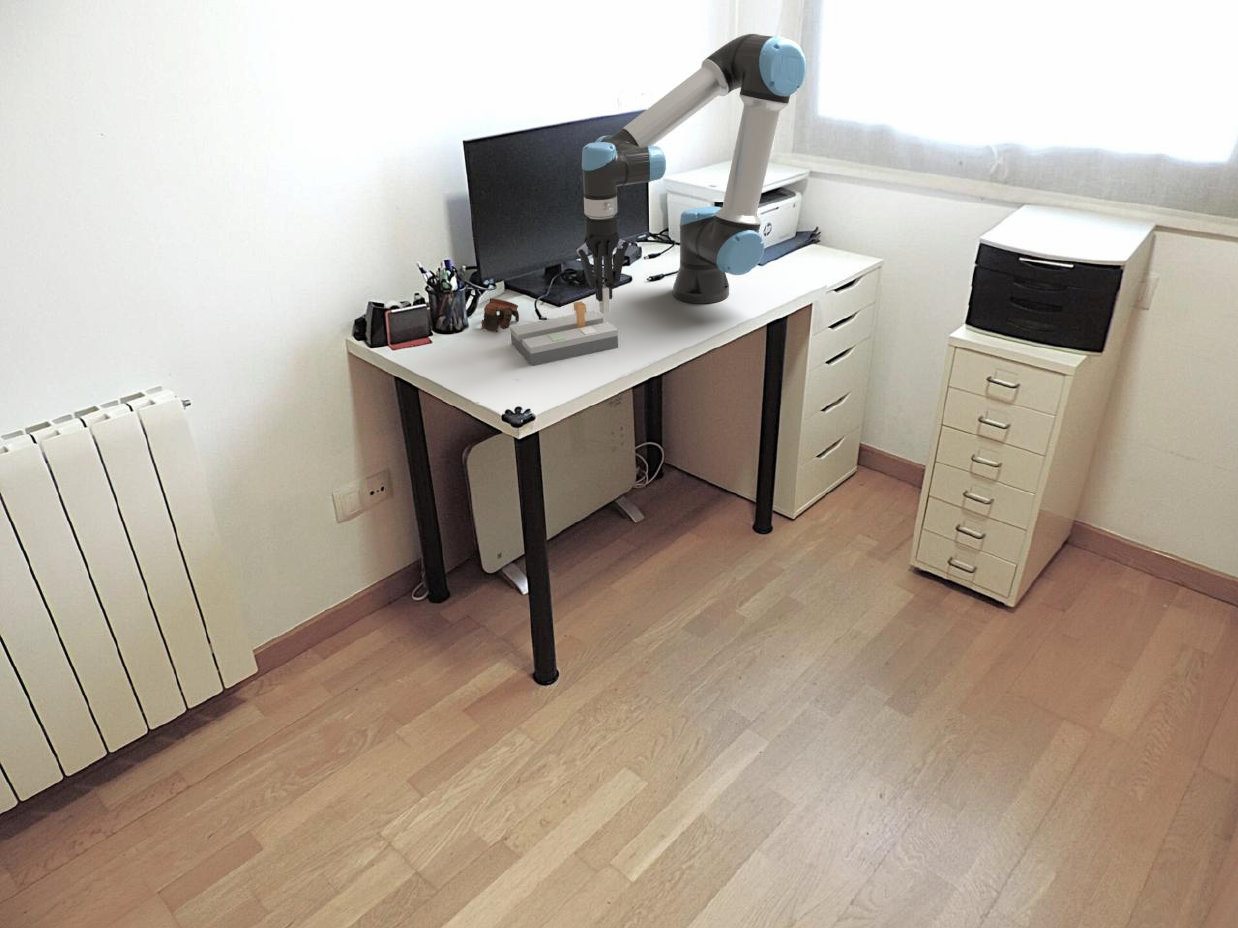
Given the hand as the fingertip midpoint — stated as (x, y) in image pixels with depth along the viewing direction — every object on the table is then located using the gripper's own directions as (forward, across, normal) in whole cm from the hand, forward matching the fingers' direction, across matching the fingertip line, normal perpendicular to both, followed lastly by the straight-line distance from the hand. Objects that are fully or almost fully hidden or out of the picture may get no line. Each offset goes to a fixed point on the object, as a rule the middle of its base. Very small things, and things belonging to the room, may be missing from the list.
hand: (604, 312), depth 215 cm
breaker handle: (+3, -6, 0) cm, 7 cm away
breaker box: (+6, -11, 0) cm, 13 cm away
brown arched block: (+7, -20, +19) cm, 29 cm away
